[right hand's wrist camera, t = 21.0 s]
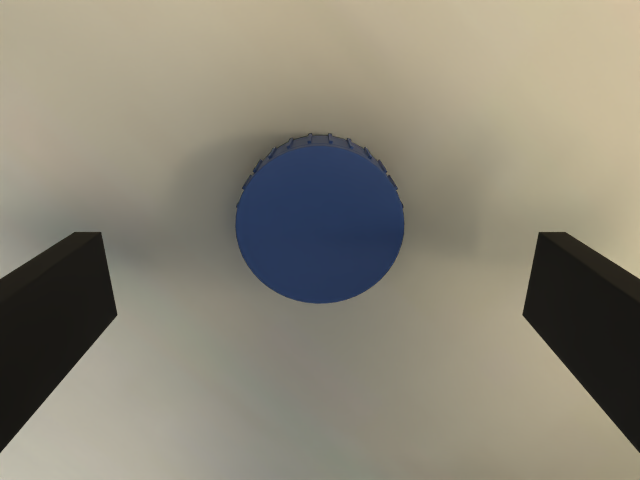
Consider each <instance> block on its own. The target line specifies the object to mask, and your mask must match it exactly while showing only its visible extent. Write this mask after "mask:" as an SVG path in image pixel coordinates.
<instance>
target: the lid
mask: <svg viewBox="0 0 640 480" xmlns="http://www.w3.org/2000/svg"><path fill="white" fill-rule="evenodd" d="M253 172H254V174H253V175H250V176H249V178H248V179H247V181H246V182H245V184H244V186H243V188H242V189H244V191H243V193H242V195H241V198H240V200H239V202H238V204H237V213H236V226H235V227H236V237H237V241H238V245H239V248H240V251H241V253H242V256H243V258H244V260H245V262H246V263H247V265H248V267H249V268H250V269H251V271H252V272H253V273H254V274H255V275H256V276H257V277H258V279H259V280H260V281H261V282H263V283H264V284H265V285H266V286H268V287H269V288H270V289H272V290H274V291H275V292H277V293H279V294H281V295H283V296H285V297H288V298H291V299H294V300H297V301H301V302H306V303H316V304H317V303H333V302H339V301H343V300H347V299H349V298H352V297H355V296H357V295H359V294H361V293H363V292H365V291H366V290H368V289H369V288H371V287H372V286H374V285H375V284H376V283H377V282H378V281H379V280H380V279H381V278H382V277H383V276H384V275H385V274H386V273H387V272H388V270H389V269H390V267H391V266H392V264H393V263H394V261H395V259H396V257H397V255H398V253H399V250H400V247H401V244H402V240H403V235H404V214H403V209H402V208H403V204H402V203H401V201H400V199H399V196H398V193H397V191H396V190H397V189H398V188H397V186H396V185H395V183H394V181H393V180H392V178H391V177H390V175H389V176H387V174H386V173H387V170H386V169H385V167H384V166H383V164H382V162H381V161H380V160H378V161H377V160H376V159H375V158H374V157H373V156H372V155H371V154H370V152H369V151H368V149H367V148H366V147H364V149H363V148H362V147H360V146H358V145H356V144H355V143H353V142H352V141H351V139H349V138H347V140H345V139H342V138H338V137H334V136H332V134H329V133H328V136H325V135H314V136H312V133H310V134H308V136H307V137H301V138H298V139H295V140H293V138H290V139H289V142H287V143H285V144H283V145H282V146H280V147H278V148H276V147H274V148H273V149H272V150H271V152H270V154H269V155H268V156H267V157H266V158H265V159H264V160H263V161H262V160H260V161H259V162H258V164H257V165H256V167H255V168H254V170H253Z"/></svg>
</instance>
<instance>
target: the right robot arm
mask: <svg viewBox="0 0 640 480" xmlns="http://www.w3.org/2000/svg"><path fill="white" fill-rule="evenodd" d="M116 316H117V310H116V305H115V300H114V295H113V290H112V285H111V280H110V275H109V270H108V265H107V260H106V255H105V249H104V244H103V239H102V234H101V232H74V233H72V234H71V235H69V236H68V237H66V238H64V239H63V240H61V241H60V242H58V243H57V244H55V245H53V246H52V247H50V248H49V249H47V250H46V251H44V252H42V253H41V254H39V255H38V256H36V257H34V258H33V259H31V260H30V261H28V262H27V263H25V264H23V265H22V266H20V267H19V268H17V269H15V270H14V271H12V272H11V273H9V274H8V275H6V276H4V277H3V278H1V279H0V453H1V451H2V450H3V449H4V448H5V447H6V446H7V444H8V443H9V442H10V441H11V440H12V439H13V437H14V436H15V435H16V434H17V433H18V431H19V430H20V429H21V428H22V427H23V426H24V424H25V423H26V422H27V421H28V420H29V419H30V417H31V416H32V415H33V414H34V413H35V411H36V410H37V409H38V408H39V407H40V406H41V404H42V403H43V402H44V401H45V400H46V399H47V397H48V396H49V395H50V394H51V393H52V391H53V390H54V389H55V388H56V387H57V386H58V384H59V383H60V382H61V381H62V380H63V379H64V377H65V376H66V375H67V374H68V373H69V371H70V370H71V369H72V368H73V367H74V366H75V364H76V363H77V362H78V361H79V360H80V359H81V357H82V356H83V355H84V354H85V353H86V351H87V350H88V349H89V348H90V347H91V346H92V344H93V343H94V342H95V341H96V340H97V339H98V337H99V336H100V335H101V334H102V333H103V331H104V330H105V329H106V328H107V327H108V326H109V324H110V323H111V322H112V321H113V320H114V319H115V317H116ZM523 316H524V317H525V319H526V320H527V321H528V322H529V323H530V324H531V326H532V327H533V328H534V329H535V330H536V332H537V333H538V334H539V335H540V336H541V337H542V339H543V340H544V341H545V342H546V343H547V344H548V346H549V347H550V348H551V349H552V350H553V352H554V353H555V354H556V355H557V356H558V357H559V359H560V360H561V361H562V362H563V363H564V364H565V366H566V367H567V368H568V369H569V370H570V372H571V373H572V374H573V375H574V376H575V377H576V379H577V380H578V381H579V382H580V383H581V384H582V386H583V387H584V388H585V389H586V390H587V391H588V393H589V394H590V395H591V396H592V397H593V399H594V400H595V401H596V402H597V403H598V404H599V406H600V407H601V408H602V409H603V410H604V411H605V413H606V414H607V415H608V416H609V417H610V419H611V420H612V421H613V422H614V423H615V424H616V426H617V427H618V428H619V429H620V430H621V431H622V433H623V434H624V435H625V436H626V437H627V439H628V440H629V441H630V442H631V443H632V444H633V446H634V447H635V448H636V449H637V450H638V451H639V453H640V279H639V278H637V277H636V276H634V275H632V274H631V273H629V272H628V271H626V270H625V269H623V268H621V267H620V266H618V265H617V264H615V263H613V262H612V261H610V260H609V259H607V258H606V257H604V256H602V255H601V254H599V253H598V252H596V251H594V250H593V249H591V248H590V247H588V246H587V245H585V244H583V243H582V242H580V241H579V240H577V239H575V238H574V237H572V236H571V235H569V234H568V233H566V232H539V234H538V239H537V244H536V249H535V254H534V259H533V264H532V270H531V275H530V280H529V285H528V290H527V295H526V300H525V305H524V310H523Z"/></svg>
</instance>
